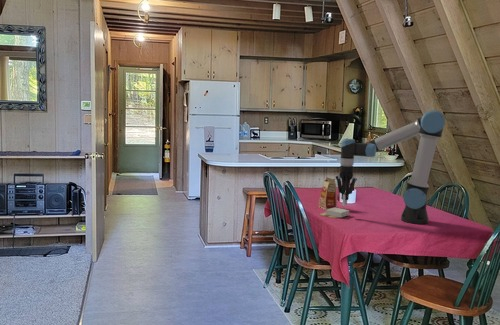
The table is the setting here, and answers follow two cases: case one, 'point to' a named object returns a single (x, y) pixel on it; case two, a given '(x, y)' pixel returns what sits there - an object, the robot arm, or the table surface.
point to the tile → (337, 212)
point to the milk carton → (328, 194)
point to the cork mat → (328, 215)
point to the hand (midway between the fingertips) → (344, 205)
